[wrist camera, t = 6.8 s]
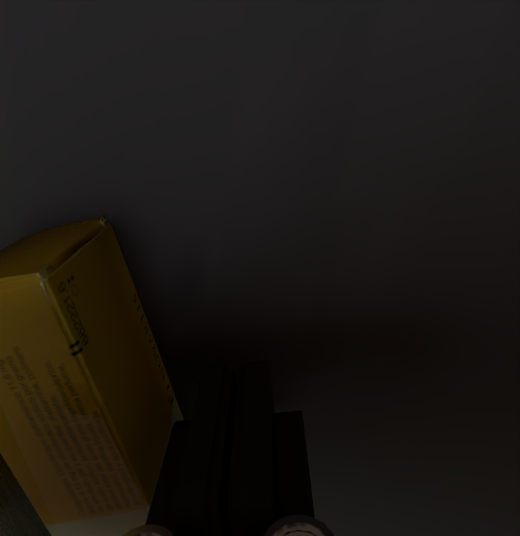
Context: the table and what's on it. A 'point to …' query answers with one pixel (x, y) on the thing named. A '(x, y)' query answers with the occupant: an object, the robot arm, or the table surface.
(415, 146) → the table surface
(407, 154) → the table surface
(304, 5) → the table surface
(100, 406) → the medication box
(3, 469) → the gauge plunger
